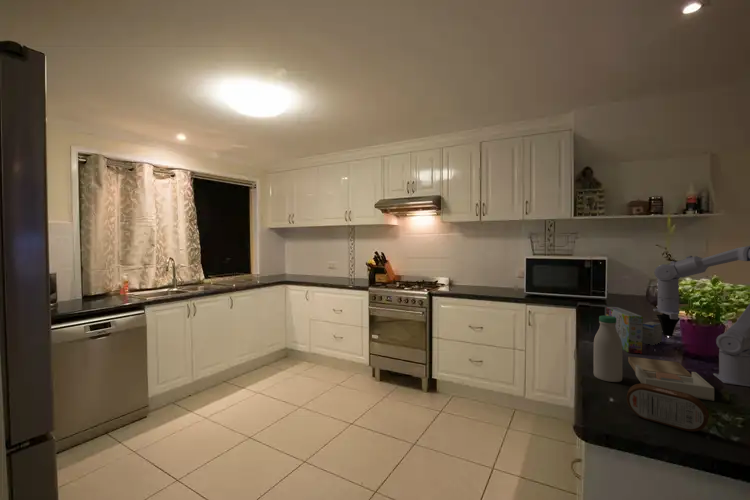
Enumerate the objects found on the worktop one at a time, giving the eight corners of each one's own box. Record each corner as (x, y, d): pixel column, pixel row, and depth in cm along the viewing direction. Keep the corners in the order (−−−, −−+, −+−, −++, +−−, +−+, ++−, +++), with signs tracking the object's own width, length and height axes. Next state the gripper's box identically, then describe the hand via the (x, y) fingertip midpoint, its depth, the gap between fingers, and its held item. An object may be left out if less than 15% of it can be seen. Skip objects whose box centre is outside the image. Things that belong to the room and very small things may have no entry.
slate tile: (681, 387, 100) (681, 380, 100) (688, 393, 96) (688, 386, 96) (660, 383, 103) (660, 377, 103) (665, 390, 98) (665, 383, 98)
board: (677, 367, 117) (677, 362, 117) (693, 382, 104) (693, 376, 104) (628, 361, 123) (628, 356, 123) (637, 375, 111) (637, 369, 111)
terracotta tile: (676, 380, 105) (676, 374, 105) (682, 386, 100) (682, 380, 100) (655, 378, 107) (655, 371, 107) (660, 383, 103) (660, 377, 103)
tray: (695, 383, 104) (695, 372, 104) (714, 400, 92) (714, 388, 92) (635, 375, 111) (635, 364, 111) (645, 390, 99) (645, 378, 99)
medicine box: (650, 340, 150) (650, 321, 150) (662, 343, 146) (662, 323, 146) (641, 343, 146) (641, 323, 146) (654, 345, 142) (654, 325, 142)
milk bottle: (627, 383, 104) (627, 319, 104) (599, 381, 106) (599, 318, 105) (615, 374, 112) (615, 314, 111) (589, 372, 113) (589, 313, 113)
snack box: (644, 354, 132) (644, 316, 131) (627, 353, 133) (627, 315, 133) (618, 339, 152) (618, 306, 152) (604, 338, 154) (604, 306, 153)
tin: (708, 433, 77) (708, 396, 77) (709, 438, 75) (709, 401, 74) (627, 410, 87) (627, 378, 87) (625, 415, 85) (625, 382, 85)
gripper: (648, 294, 128) (648, 329, 128) (659, 300, 115) (659, 339, 115) (672, 295, 125) (672, 331, 125) (686, 301, 112) (686, 341, 112)
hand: (667, 335), depth 120 cm, fingers closed
